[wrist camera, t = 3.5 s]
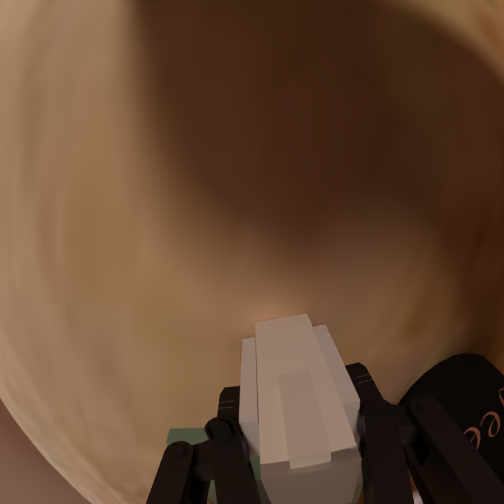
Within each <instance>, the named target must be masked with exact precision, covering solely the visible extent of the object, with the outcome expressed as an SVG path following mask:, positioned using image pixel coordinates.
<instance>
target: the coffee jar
mask: <svg viewBox="0 0 504 504" xmlns="http://www.w3.org/2000/svg"><path fill="white" fill-rule="evenodd" d="M420 395H430V396H432V397H434V398H435V399H436V400H437V401H438V402H439V404H440V405H441V406H442V407H443V408H444V410H445V411H446V412H447V413H448V414H449V416H450V417H451V418H452V419H453V420H454V422H455V423H456V424H457V425H458V427H459V428H460V429H461V430H462V432H463V433H464V434H465V435H466V437H467V438H468V439H469V440H470V442H471V443H472V444H473V445H474V447H475V448H476V449H477V451H478V452H479V453H480V454H481V456H482V457H483V458H484V460H485V461H486V462H487V464H488V465H489V466H490V468H491V469H492V470H493V472H494V473H495V474H496V476H497V477H498V478H499V480H500V481H501V483H502V484H503V485H504V375H503V374H502V373H501V372H500V371H499V370H498V369H497V368H496V367H495V366H494V365H492V364H491V363H490V362H489V361H488V360H487V359H486V358H485V357H484V356H480V355H477V354H473V353H471V354H465V353H464V354H459V355H454V356H451V357H450V358H448V359H446V360H444V361H442V362H440V363H438V364H437V365H435V366H434V367H433V368H431V369H430V370H429V371H427V372H426V373H425V374H424V375H423V376H422V377H421V378H420V379H419V380H418V381H416V382H415V383H414V384H413V385H412V386H411V388H410V389H409V390H408V392H407V393H406V394H405V395H404V397H403V398H402V399H401V401H400V403H399V405H404V404H410V403H411V401H412V400H413V399H414V398H415V397H417V396H420ZM403 450H404V454H405V459H406V463H407V467H408V469H409V471H410V473H411V476H412V478H413V480H414V482H415V485H416V487H417V489H418V492H419V494H420V496H421V499H422V501H423V503H424V504H436V502H435V501H434V499H433V497H432V495H431V494H430V492H429V490H428V488H427V487H426V485H425V483H424V481H423V480H422V478H421V476H420V474H419V473H418V471H417V469H416V468H415V466H414V464H413V462H412V461H411V459H410V457H409V456H408V454H407V452H406V451H405V449H404V447H403Z"/></svg>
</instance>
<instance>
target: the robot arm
mask: <svg viewBox="0 0 504 504" xmlns="http://www.w3.org/2000/svg"><path fill="white" fill-rule="evenodd" d="M313 330H314V332H315V335H316V337H317V340H318V342H319V345H320V348H321V350H322V353H323V355H324V358H325V360H326V363H327V366H328V368H329V371H330V374H331V376H332V379H333V381H334V384H335V387H336V389H337V392H338V395H339V397H340V400H341V403H342V406H343V408H344V411H345V414H346V417H347V419H348V422H349V425H350V428H351V430H352V433H353V436H354V438H355V437H357V432H358V435H359V437H360V441H359V448H358V450H359V452H360V456H361V459H362V461H361V468H362V479H363V492H364V504H414V499H413V493H412V488H411V483H410V477H409V473H408V468H407V463H406V459H405V454H404V450H403V447H404V449H405V451H406V452H407V454H408V456H409V457H410V459H411V461H412V462H413V464H414V466H415V468H416V469H417V471H418V473H419V474H420V476H421V478H422V480H423V481H424V483H425V485H426V487H427V488H428V490H429V492H430V494H431V495H432V497H433V499H434V501H435V502H436V504H504V485H503V484H502V483H501V481H500V480H499V478H498V477H497V476H496V474H495V473H494V472H493V470H492V469H491V468H490V466H489V465H488V464H487V462H486V461H485V460H484V458H483V457H482V456H481V454H480V453H479V452H478V451H477V449H476V448H475V447H474V445H473V444H472V443H471V442H470V440H469V439H468V438H467V437H466V435H465V434H464V433H463V432H462V430H461V429H460V428H459V427H458V425H457V424H456V423H455V422H454V420H453V419H452V418H451V417H450V416H449V414H448V413H447V412H446V411H445V410H444V408H443V407H442V406H441V405H440V404H439V402H438V401H437V400H436V399H435V398H434V397H432V396H430V395H420V396H417V397H415V398H414V399H413V400H412V401H411V403H410V404H404V405H393V404H390V403H389V402H388V401H386V400H384V399H383V398H382V396H381V394H380V392H379V390H378V388H377V387H376V385H375V383H374V381H373V380H372V377H371V376H370V374H369V372H368V370H367V368H366V367H365V366H364V365H362V364H361V363H359V362H358V363H354V364H350V365H346V366H344V363H343V361H342V359H341V357H340V355H339V353H338V351H337V348H336V346H335V344H334V342H333V340H332V338H331V336H330V334H329V332H328V329H327V327H326V325H325V324H323V325H319V326H314V327H313ZM204 431H205V433H206V435H207V437H208V438H209V439H208V440H206V441H204V442H202V443H198V444H194V445H191V444H190V443H188V442H185V441H176V442H173V443H171V444H170V445H169V446H167V448H166V450H165V452H164V454H163V457H162V460H161V463H160V466H159V468H158V471H157V474H156V477H155V480H154V482H153V485H152V488H151V491H150V494H149V496H148V499H147V502H146V504H206V503H207V498H208V493H209V488H210V483H211V481H212V480H214V484H215V492H216V499H217V504H262V503H261V499H260V495H259V491H258V487H257V484H256V480H255V476H254V472H253V467H252V464H251V461H250V454H251V456H260V441H259V414H258V386H257V359H256V338H255V337H254V338H247V339H242V360H241V383H240V386H235V387H225V388H224V389H223V391H222V392H221V394H220V398H219V406H218V413H217V417H215V418H213V419H211V420H210V421H208V422H207V424H206V425H205V429H204Z"/></svg>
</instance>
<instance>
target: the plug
mask: <svg viewBox="0 0 504 504" xmlns="http://www.w3.org/2000/svg"><path fill="white" fill-rule="evenodd" d="M255 332H256V359H257V386H258V414H259V441H260V469H261V481H262V483H263V485H264V488H265V490H266V492H267V495H268V497H269V499H270V502H271V504H347V503H350V502H352V500H353V496H354V492H355V488H356V484H357V479H358V475H359V470H360V466H361V461H362V459H361V456H360V453H359V450H358V447H357V444H356V442H355V439H354V436H353V433H352V430H351V428H350V425H349V422H348V419H347V417H346V414H345V411H344V408H343V406H342V403H341V400H340V397H339V395H338V392H337V389H336V387H335V384H334V381H333V379H332V376H331V374H330V371H329V368H328V366H327V363H326V360H325V358H324V355H323V353H322V350H321V348H320V345H319V342H318V340H317V337H316V335H315V332H314V330H313V327H312V325H311V322H310V320H309V317H308V315H307V313H304V314H299V315H294V316H289V317H283V318H278V319H272V320H266V321H261V322H255Z"/></svg>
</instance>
